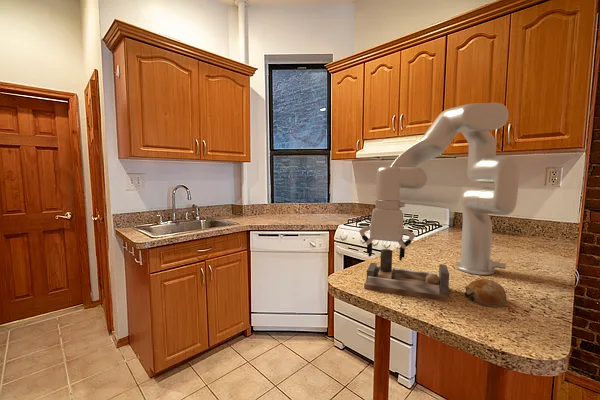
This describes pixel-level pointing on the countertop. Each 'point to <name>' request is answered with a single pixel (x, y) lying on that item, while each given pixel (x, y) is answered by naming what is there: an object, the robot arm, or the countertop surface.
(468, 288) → the bread roll
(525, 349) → the countertop surface
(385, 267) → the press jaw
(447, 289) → the base
